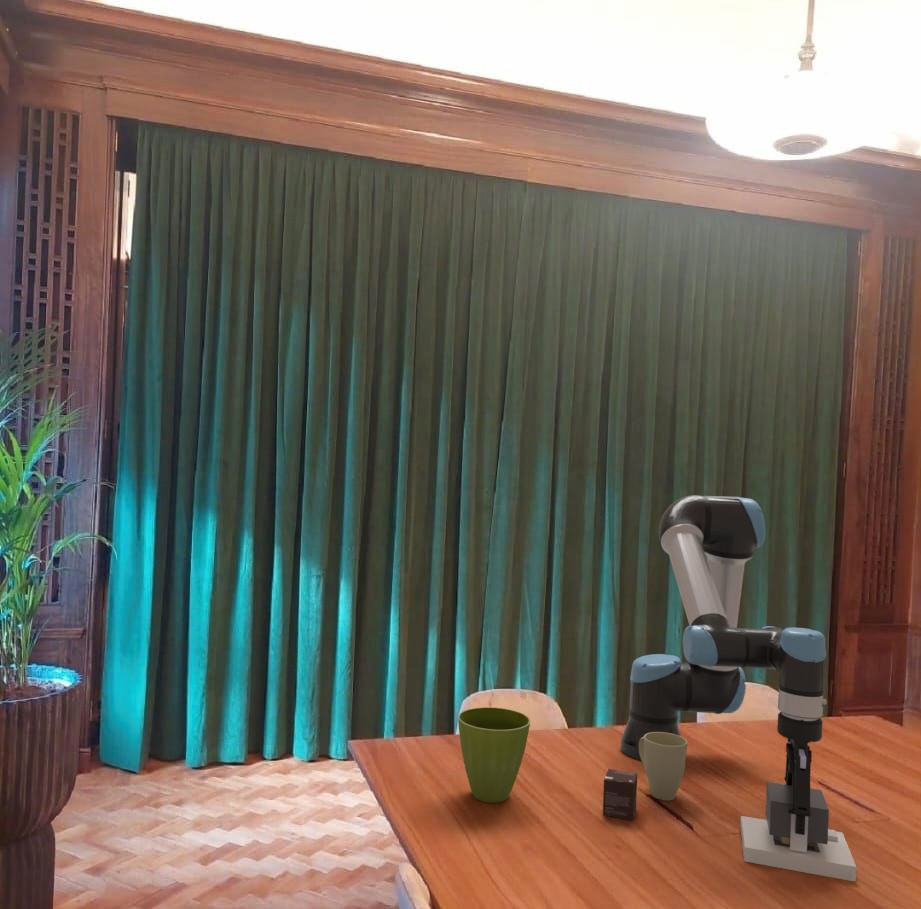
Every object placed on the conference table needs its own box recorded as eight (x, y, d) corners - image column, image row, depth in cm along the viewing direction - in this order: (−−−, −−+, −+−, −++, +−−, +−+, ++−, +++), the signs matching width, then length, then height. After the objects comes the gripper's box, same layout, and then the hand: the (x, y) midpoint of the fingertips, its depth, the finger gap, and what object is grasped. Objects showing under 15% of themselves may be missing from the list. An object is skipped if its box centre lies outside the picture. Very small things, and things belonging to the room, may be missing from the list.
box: (636, 809, 161) (638, 773, 161) (633, 821, 155) (634, 783, 155) (606, 804, 163) (608, 768, 163) (601, 815, 157) (603, 778, 157)
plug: (769, 845, 142) (770, 800, 142) (765, 824, 151) (766, 781, 151) (826, 856, 139) (828, 810, 139) (819, 833, 148) (821, 790, 148)
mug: (688, 791, 172) (691, 735, 172) (681, 808, 163) (683, 749, 163) (638, 780, 176) (640, 726, 177) (627, 796, 167) (630, 739, 168)
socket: (744, 861, 141) (744, 842, 141) (740, 828, 154) (741, 811, 154) (855, 881, 136) (856, 862, 136) (842, 846, 149) (842, 828, 149)
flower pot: (504, 818, 154) (508, 735, 154) (440, 798, 162) (444, 719, 162) (538, 793, 166) (542, 717, 167) (477, 776, 174) (481, 703, 175)
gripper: (831, 736, 134) (826, 870, 133) (814, 701, 155) (809, 817, 155) (784, 729, 136) (778, 861, 136) (773, 696, 157) (768, 810, 157)
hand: (795, 838), depth 145 cm, fingers closed on plug, 9 cm apart
